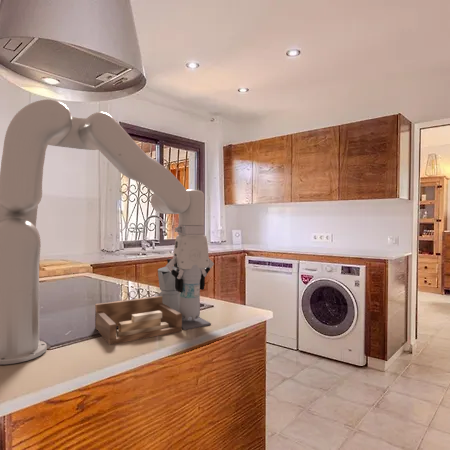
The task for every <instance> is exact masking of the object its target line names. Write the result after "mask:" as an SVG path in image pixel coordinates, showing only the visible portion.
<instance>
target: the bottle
mask: <svg viewBox="0 0 450 450" xmlns="http://www.w3.org/2000/svg"><path fill="white" fill-rule="evenodd" d="M201 274H202V273H201V269H199V268H198V265H193V266H192V268H191V269H189V270H184V272H183V274H182V277H181V279H183V292H180V306H179V313H181V314H182V319H186V320H189V317H192V320H194V319H197V318H198V317H200V314H201V298H200V297H201V289H200V279H201Z"/></svg>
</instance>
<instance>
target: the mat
mask: <svg viewBox="0 0 450 450" xmlns="http://www.w3.org/2000/svg"><path fill="white" fill-rule="evenodd" d="M211 324H212V323H211V322H210V321H208V320H207V319H204V318H202V317H200V316H199V317H198V318H197V319H194V320H192V317H189V320H186V319H182V330H183V331H185V330H190V329H191V330H192V329H196V328H201V327H206V326H207V327H208V326H211Z"/></svg>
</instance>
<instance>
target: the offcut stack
mask: <svg viewBox="0 0 450 450" xmlns="http://www.w3.org/2000/svg"><path fill="white" fill-rule="evenodd" d="M161 318H162V312H161V311H152V312H145V313H139V314H132V320H130V321H123V322H119V326H118V329H116V337H121V336H126V335H132V334H137V333H143V332H149V331H154V330H160V329H165V328H169V324H168V323H166V322H161Z"/></svg>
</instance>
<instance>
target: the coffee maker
mask: <svg viewBox="0 0 450 450" xmlns="http://www.w3.org/2000/svg"><path fill="white" fill-rule="evenodd" d="M172 259H173V258H167V259H166V262H167V264H168V263H169V262H170V261H171V260H172ZM173 269H174V270H175V271H176V269H177V268H175V267H174V265H173ZM157 277H158V285H159V290H160V292H159V295H158V296H162V303H163V304H165V305H167V306H169V307H170V308H172V309H174V310H176V311H178V312H179V306H180V292H178V291H176V289H175V277H174V276H173V275H172V274H171V273H170V272H169V271H168V269H167V268H166V266H163V267H160V268H157Z"/></svg>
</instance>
